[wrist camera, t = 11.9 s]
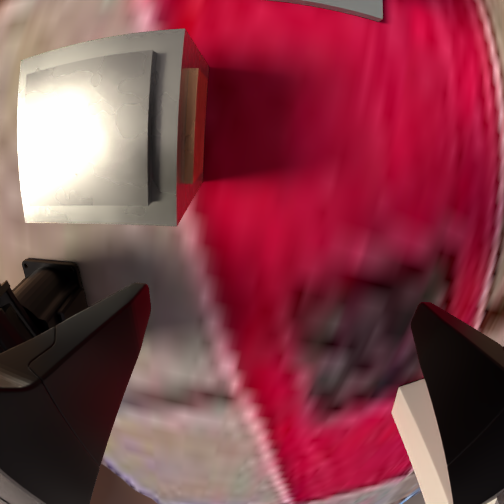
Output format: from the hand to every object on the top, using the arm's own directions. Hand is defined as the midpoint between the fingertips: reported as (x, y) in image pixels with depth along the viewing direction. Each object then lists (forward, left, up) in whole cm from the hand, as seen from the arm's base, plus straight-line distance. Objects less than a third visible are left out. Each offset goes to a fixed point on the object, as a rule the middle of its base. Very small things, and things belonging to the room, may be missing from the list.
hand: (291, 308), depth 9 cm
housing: (-8, +5, -13) cm, 16 cm away
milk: (+22, -23, -13) cm, 34 cm away
